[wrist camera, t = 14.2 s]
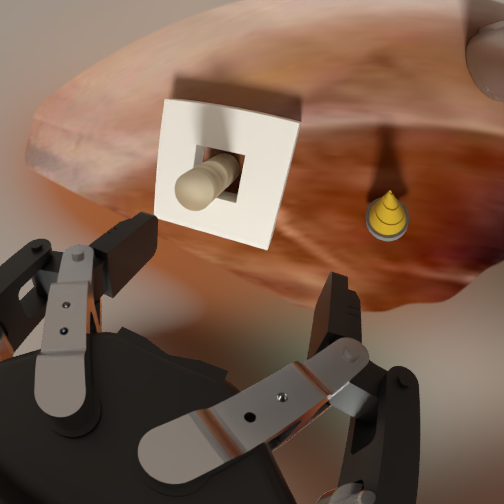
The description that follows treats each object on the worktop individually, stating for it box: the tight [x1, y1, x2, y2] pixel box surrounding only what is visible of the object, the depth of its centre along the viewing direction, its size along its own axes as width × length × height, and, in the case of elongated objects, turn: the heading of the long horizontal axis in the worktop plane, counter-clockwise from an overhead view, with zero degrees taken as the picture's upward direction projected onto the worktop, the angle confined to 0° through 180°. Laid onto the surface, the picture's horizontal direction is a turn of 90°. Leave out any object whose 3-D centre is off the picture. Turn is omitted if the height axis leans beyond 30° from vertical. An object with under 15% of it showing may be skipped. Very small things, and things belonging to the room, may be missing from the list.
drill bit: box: [366, 190, 409, 241], centre depth 30 cm, size 5×5×10 cm
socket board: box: [154, 99, 301, 250], centre depth 35 cm, size 16×16×3 cm
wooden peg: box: [175, 153, 240, 211], centre depth 32 cm, size 4×4×10 cm
